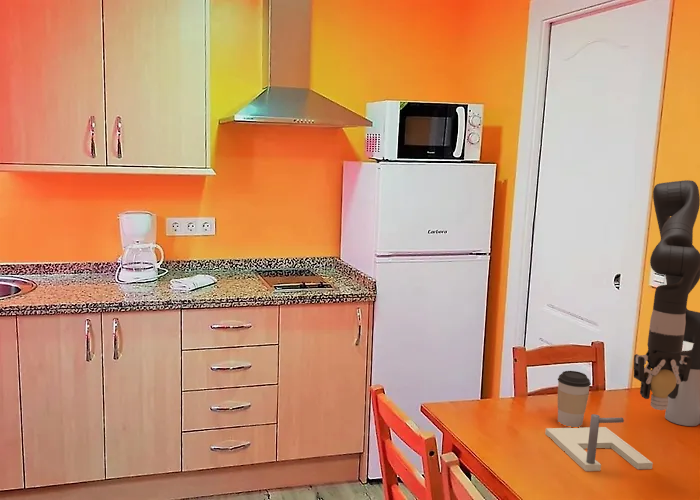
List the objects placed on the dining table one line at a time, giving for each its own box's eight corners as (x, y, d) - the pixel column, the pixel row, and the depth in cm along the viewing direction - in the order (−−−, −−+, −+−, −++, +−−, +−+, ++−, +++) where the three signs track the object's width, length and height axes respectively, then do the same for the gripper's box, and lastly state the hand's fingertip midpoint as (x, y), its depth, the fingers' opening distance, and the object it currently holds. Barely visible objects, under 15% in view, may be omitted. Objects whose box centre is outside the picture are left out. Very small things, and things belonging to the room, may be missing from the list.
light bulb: (660, 415, 158) (665, 373, 157) (638, 405, 164) (642, 365, 162) (679, 411, 161) (683, 370, 160) (656, 402, 167) (660, 362, 165)
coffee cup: (582, 418, 201) (587, 369, 198) (589, 430, 192) (595, 379, 189) (550, 415, 201) (555, 367, 199) (557, 427, 192) (562, 377, 190)
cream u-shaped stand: (605, 432, 191) (610, 386, 189) (652, 468, 170) (658, 417, 168) (545, 433, 188) (549, 386, 186) (585, 471, 166) (591, 418, 164)
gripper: (684, 326, 165) (675, 392, 167) (629, 325, 163) (621, 392, 165) (704, 334, 158) (695, 403, 160) (648, 333, 155) (639, 403, 158)
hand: (658, 397), depth 162 cm, fingers closed on light bulb, 6 cm apart
